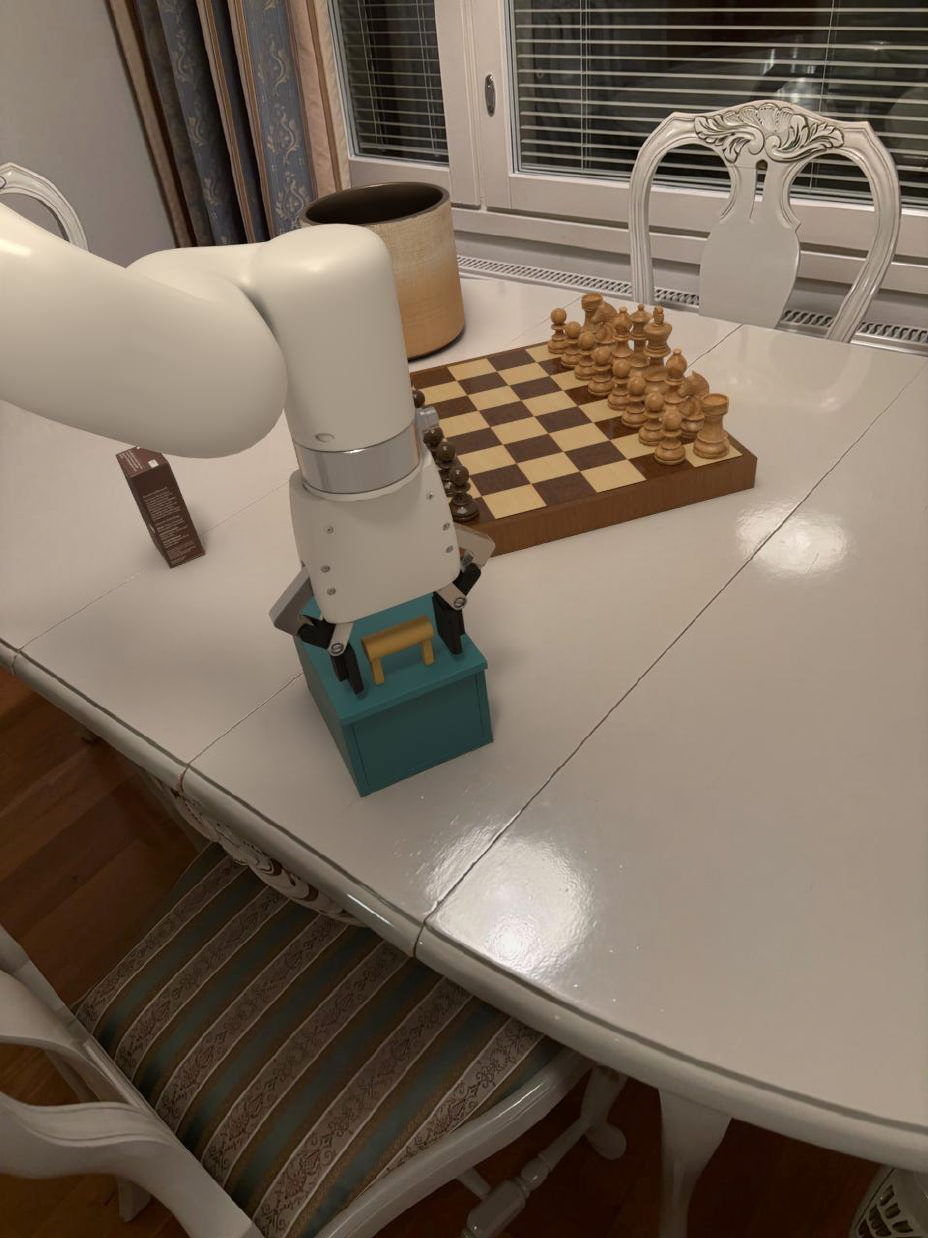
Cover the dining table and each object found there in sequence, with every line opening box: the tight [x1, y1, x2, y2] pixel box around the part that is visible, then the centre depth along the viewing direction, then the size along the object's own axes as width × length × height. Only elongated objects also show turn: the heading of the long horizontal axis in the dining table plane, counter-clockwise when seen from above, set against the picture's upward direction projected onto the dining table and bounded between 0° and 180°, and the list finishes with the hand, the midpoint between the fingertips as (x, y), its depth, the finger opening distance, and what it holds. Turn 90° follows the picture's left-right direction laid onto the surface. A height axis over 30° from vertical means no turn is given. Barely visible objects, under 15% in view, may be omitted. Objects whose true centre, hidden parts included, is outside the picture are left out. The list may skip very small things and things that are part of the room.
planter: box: [298, 181, 465, 361], centre depth 132 cm, size 22×22×20 cm
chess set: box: [409, 292, 759, 559], centre depth 103 cm, size 40×40×15 cm
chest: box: [291, 635, 494, 798], centre depth 73 cm, size 15×12×9 cm
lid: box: [298, 592, 489, 726], centre depth 68 cm, size 15×12×5 cm
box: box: [114, 446, 206, 568], centre depth 95 cm, size 6×4×12 cm
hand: (402, 661), depth 65 cm, fingers open, 7 cm apart
